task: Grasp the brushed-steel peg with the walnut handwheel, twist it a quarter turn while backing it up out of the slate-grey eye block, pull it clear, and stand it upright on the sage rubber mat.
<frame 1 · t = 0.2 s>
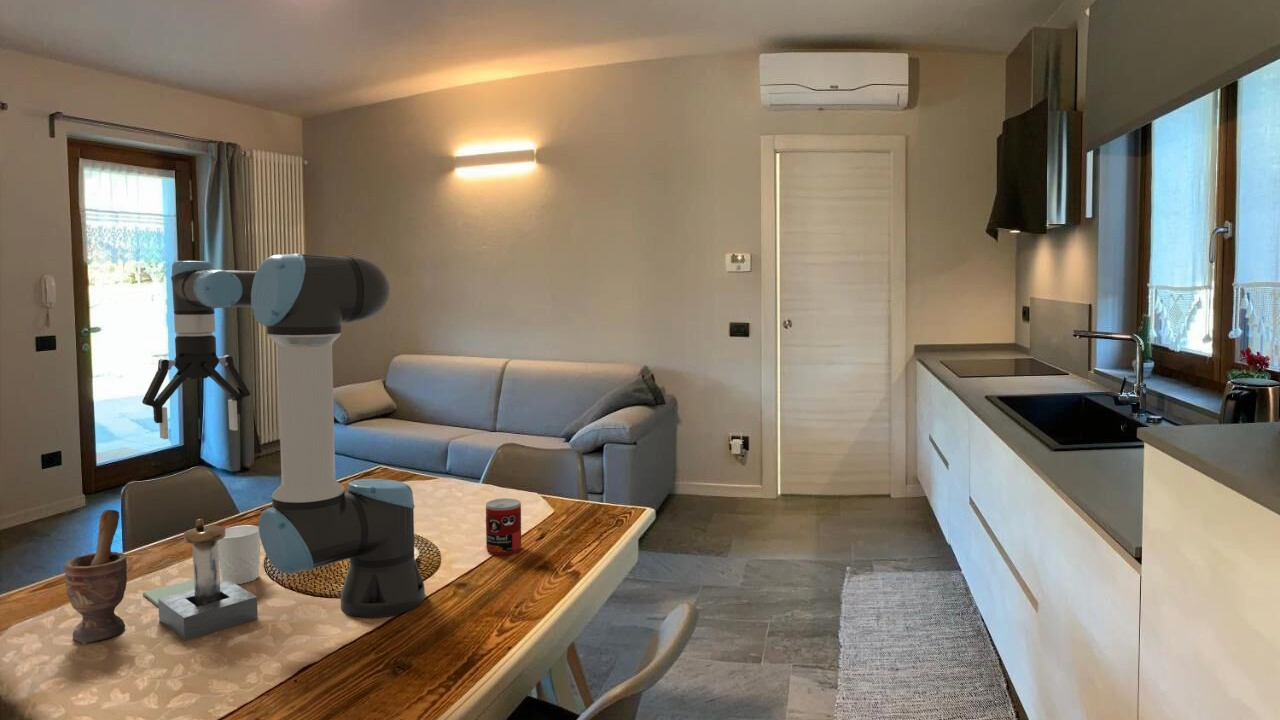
hand: (199, 434, 167), 28 cm above the table, fingers open, 13 cm apart
eye block: (208, 619, 140), on the table
mortar and pestle: (100, 631, 135), on the table
canned food: (503, 551, 178), on the table
steel peg: (206, 571, 139), in the eye block
mat: (181, 594, 151), on the table
white cup: (240, 579, 159), on the table
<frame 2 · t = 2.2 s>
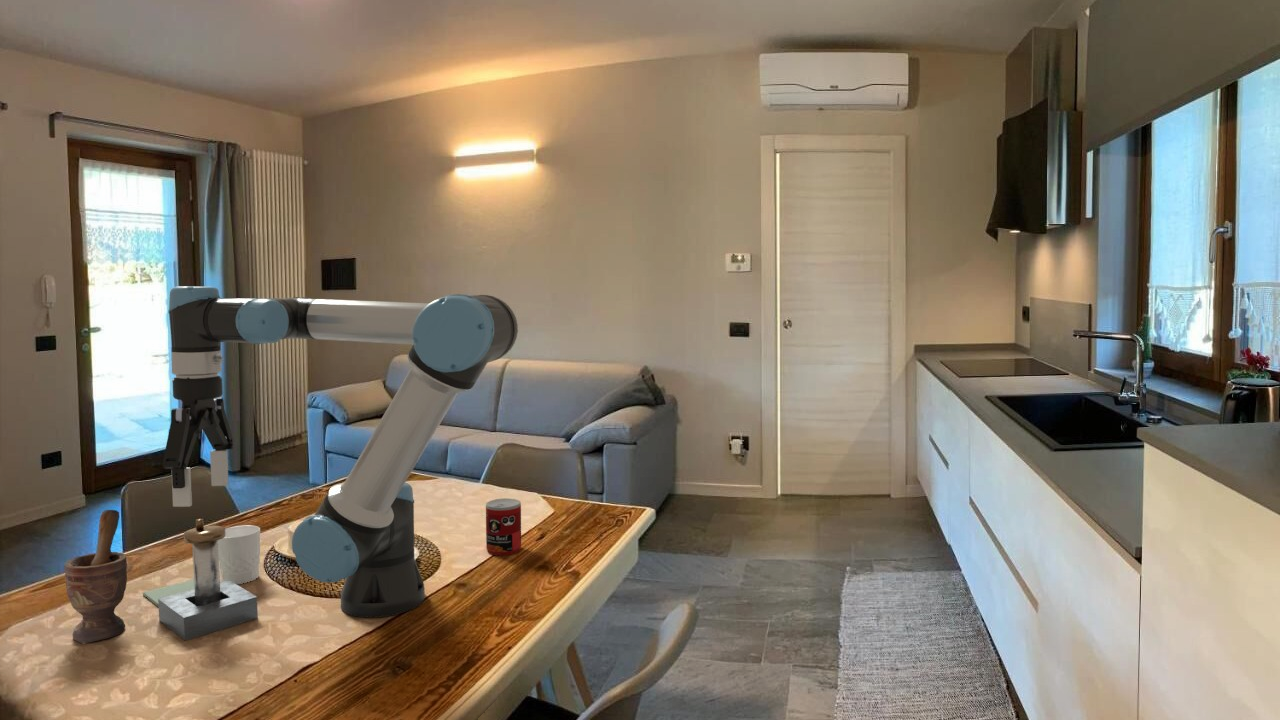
hand: (202, 495, 138), 23 cm above the table, fingers open, 13 cm apart
nothing on the table moved.
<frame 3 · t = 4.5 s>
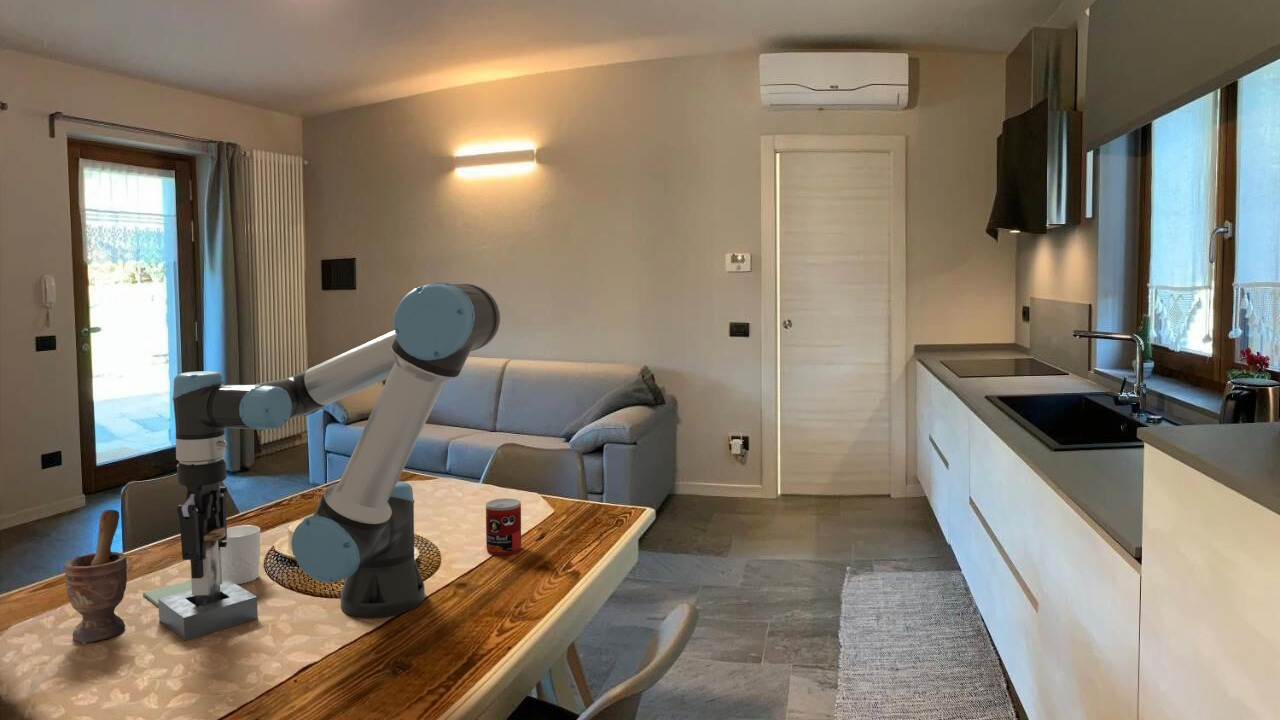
hand: (207, 588, 139), 6 cm above the table, fingers closed on steel peg, 4 cm apart
steel peg: (206, 571, 139), in the eye block, touching gripper
everything else where it was.
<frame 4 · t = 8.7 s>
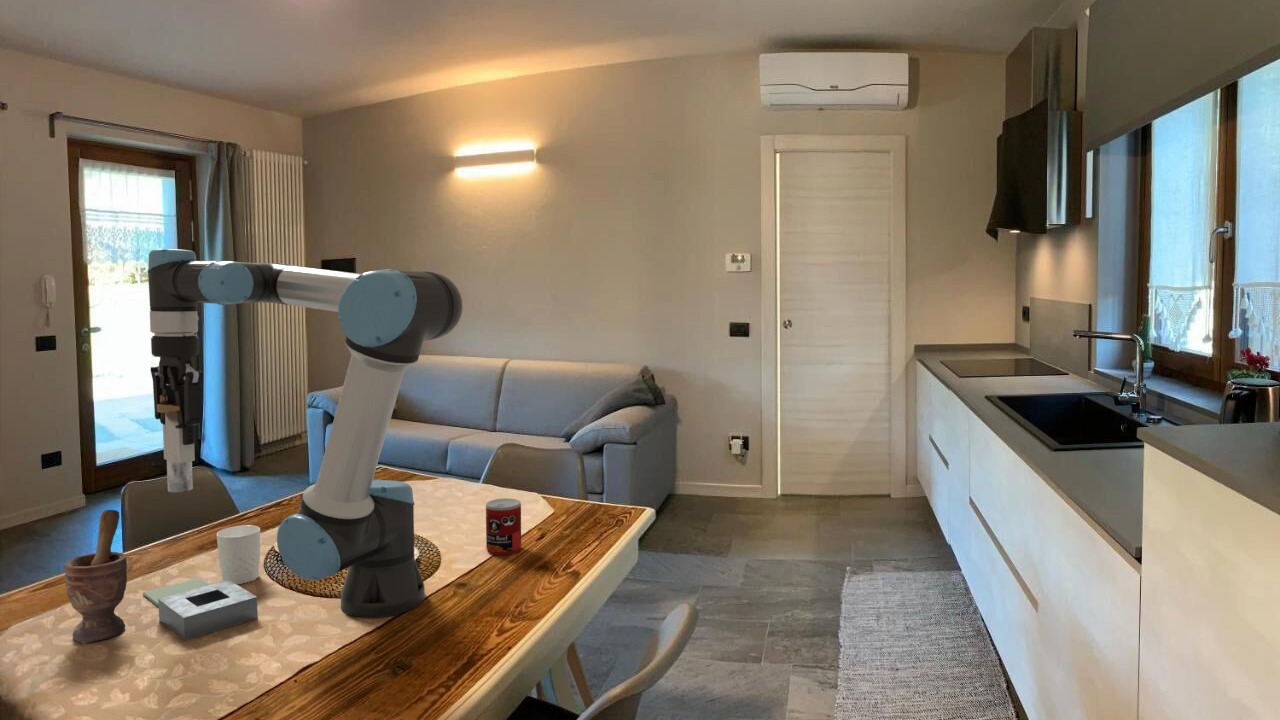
hand: (179, 459, 145), 27 cm above the table, fingers closed on steel peg, 4 cm apart
steel peg: (178, 442, 145), point 30 cm above the table, touching gripper
everything else where it was.
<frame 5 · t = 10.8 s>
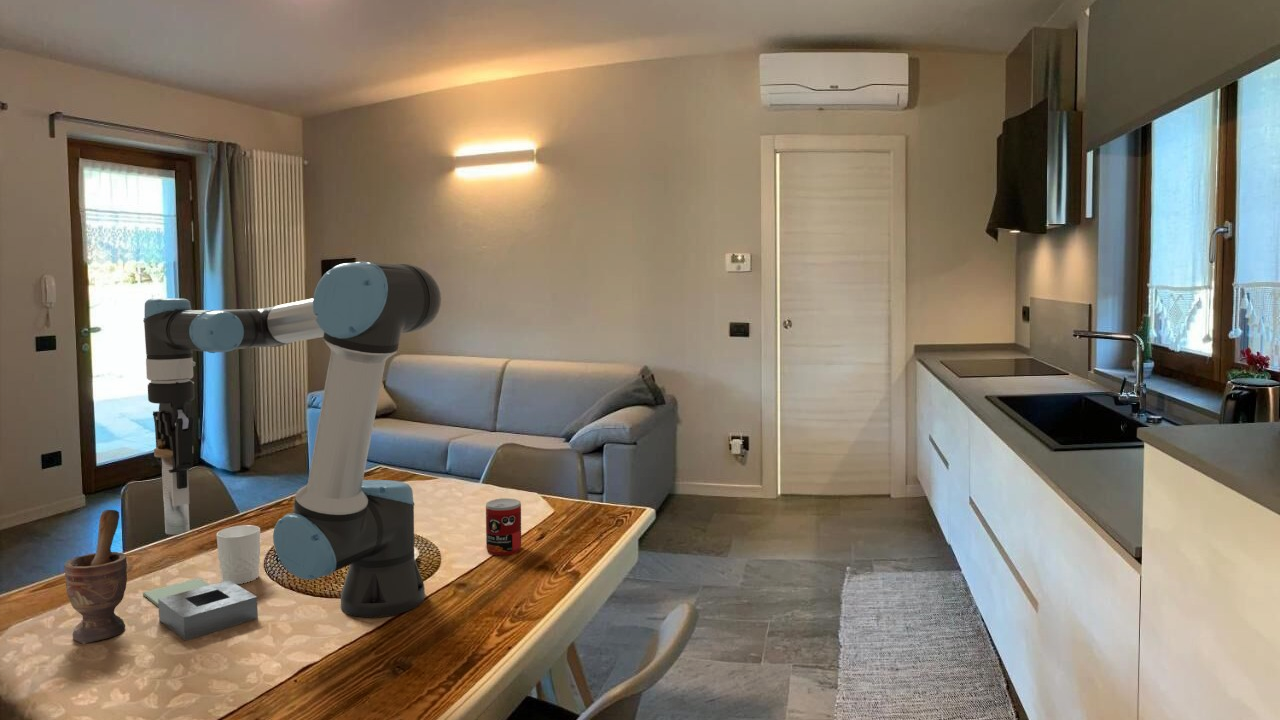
hand: (176, 502, 149), 18 cm above the table, fingers closed on steel peg, 4 cm apart
steel peg: (175, 485, 149), point 21 cm above the table, touching gripper
everything else where it was.
when the fingers open (7 cm above the table, at t = 13.0 s): steel peg stays where it is, resting on mat.
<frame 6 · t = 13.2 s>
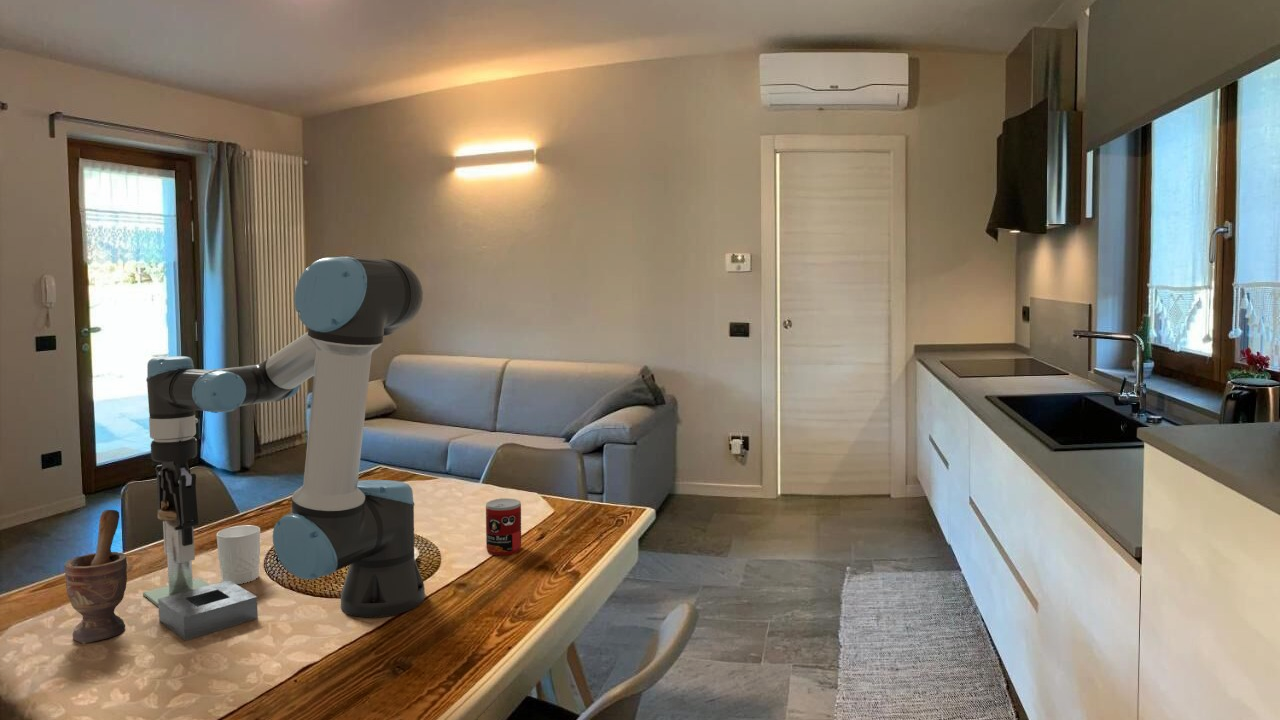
hand: (179, 556, 150), 8 cm above the table, fingers open, 6 cm apart
steel peg: (178, 546, 150), on the mat, point 10 cm above the table
everything else where it was.
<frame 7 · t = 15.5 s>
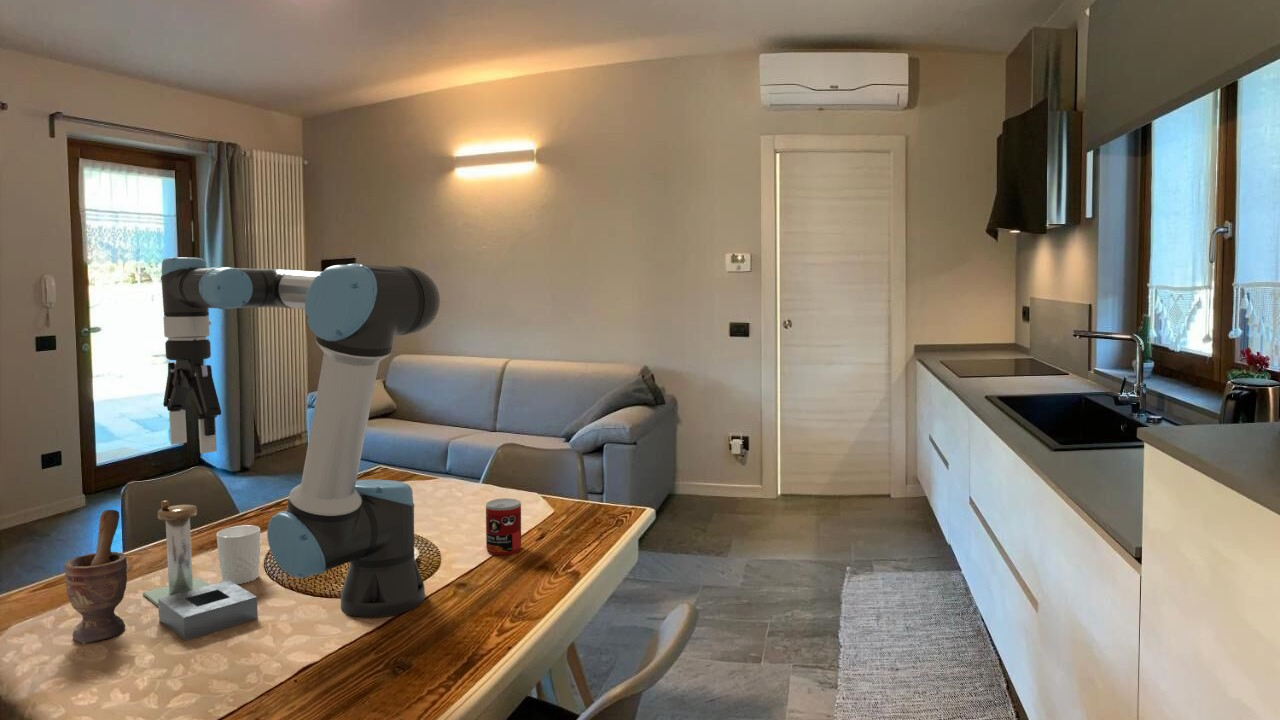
hand: (193, 447, 152), 28 cm above the table, fingers open, 13 cm apart
nothing on the table moved.
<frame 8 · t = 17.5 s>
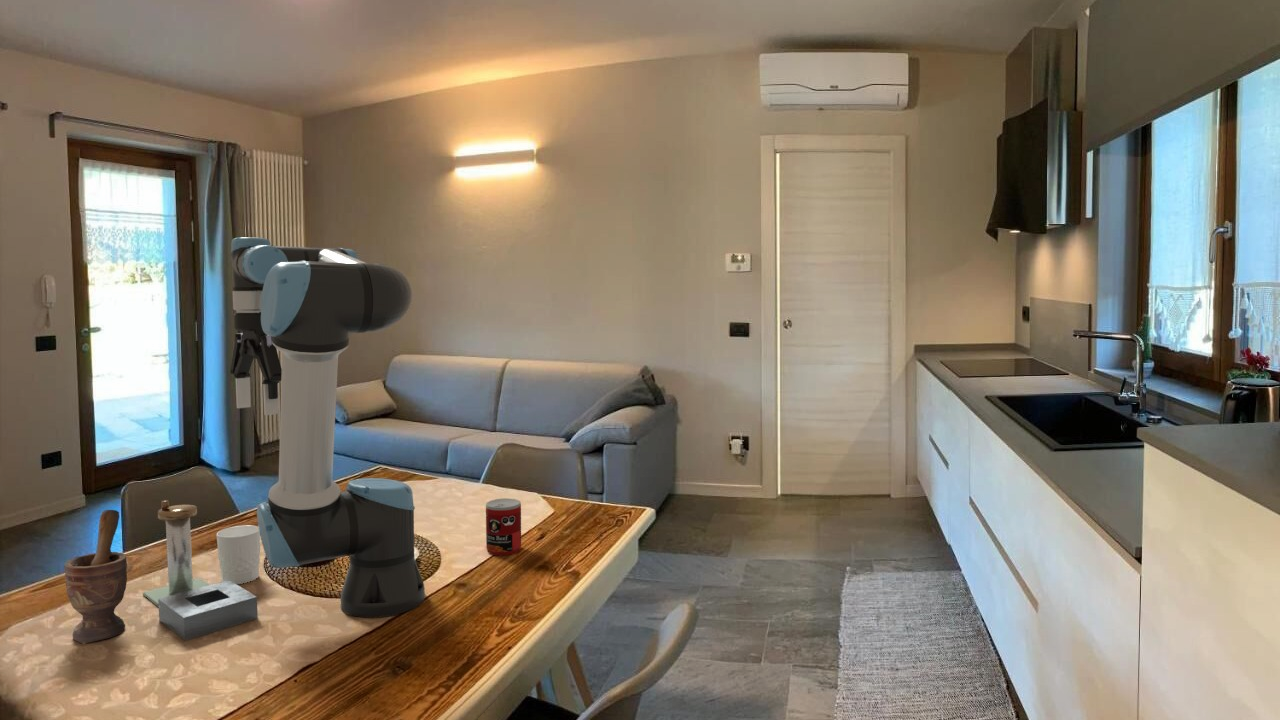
hand: (257, 411, 167), 33 cm above the table, fingers open, 13 cm apart
nothing on the table moved.
at the end: steel peg inside the target area on the mat (0.0 cm from its centre), point 9.5 cm above the mat's base; steel peg tilted 0°; the gripper is holding nothing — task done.
